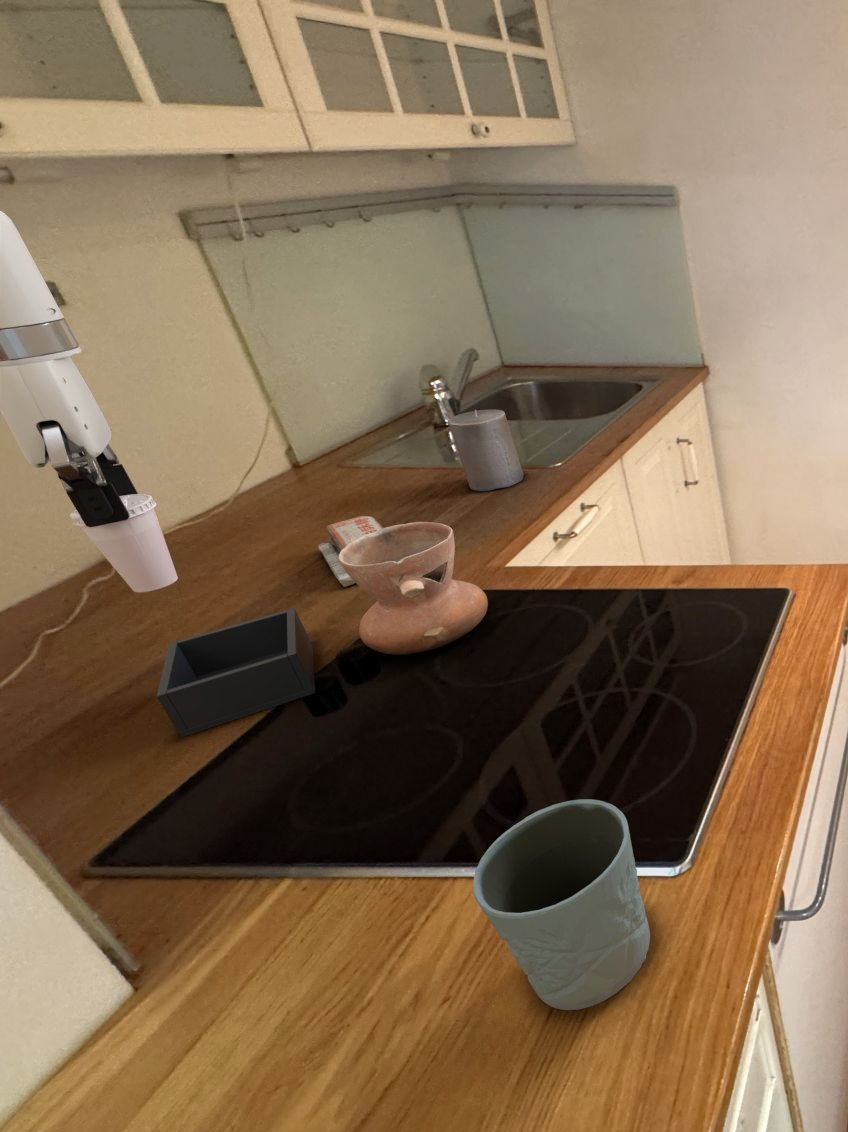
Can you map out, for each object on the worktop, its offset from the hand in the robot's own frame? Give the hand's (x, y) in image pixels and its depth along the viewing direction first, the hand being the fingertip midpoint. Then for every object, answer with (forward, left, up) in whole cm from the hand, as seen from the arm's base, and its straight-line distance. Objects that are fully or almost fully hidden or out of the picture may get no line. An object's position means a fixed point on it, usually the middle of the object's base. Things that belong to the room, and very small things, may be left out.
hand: (114, 510), depth 82 cm
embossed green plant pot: (+25, -65, -25) cm, 75 cm away
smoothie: (0, 0, -9) cm, 9 cm away
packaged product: (+17, +32, -25) cm, 44 cm away
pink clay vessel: (+22, -1, -25) cm, 33 cm away
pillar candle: (+40, +55, -25) cm, 72 cm away
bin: (+3, 0, -25) cm, 25 cm away
